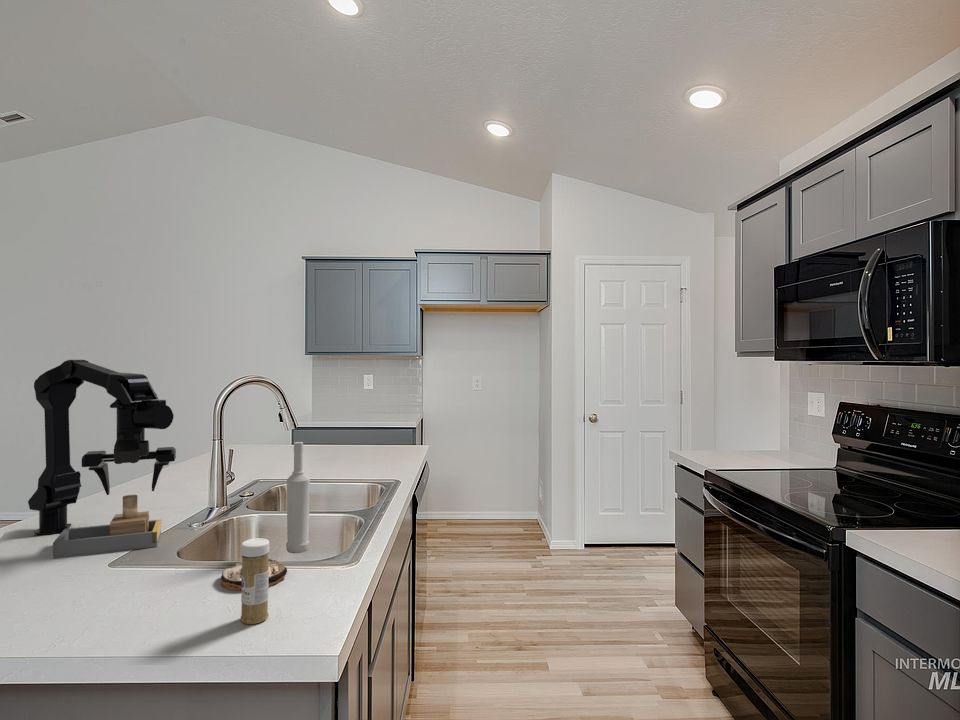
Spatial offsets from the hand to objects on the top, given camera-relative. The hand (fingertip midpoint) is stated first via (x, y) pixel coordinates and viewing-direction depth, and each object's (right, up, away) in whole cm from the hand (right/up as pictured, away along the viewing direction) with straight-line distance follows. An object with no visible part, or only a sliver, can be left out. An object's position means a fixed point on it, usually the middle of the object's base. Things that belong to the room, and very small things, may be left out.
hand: (130, 492), depth 137 cm
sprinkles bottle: (+44, -13, -38) cm, 60 cm away
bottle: (+41, -13, -3) cm, 43 cm away
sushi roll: (+37, -14, -20) cm, 44 cm away
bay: (-4, -12, -1) cm, 13 cm away
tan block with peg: (0, -11, 0) cm, 11 cm away
